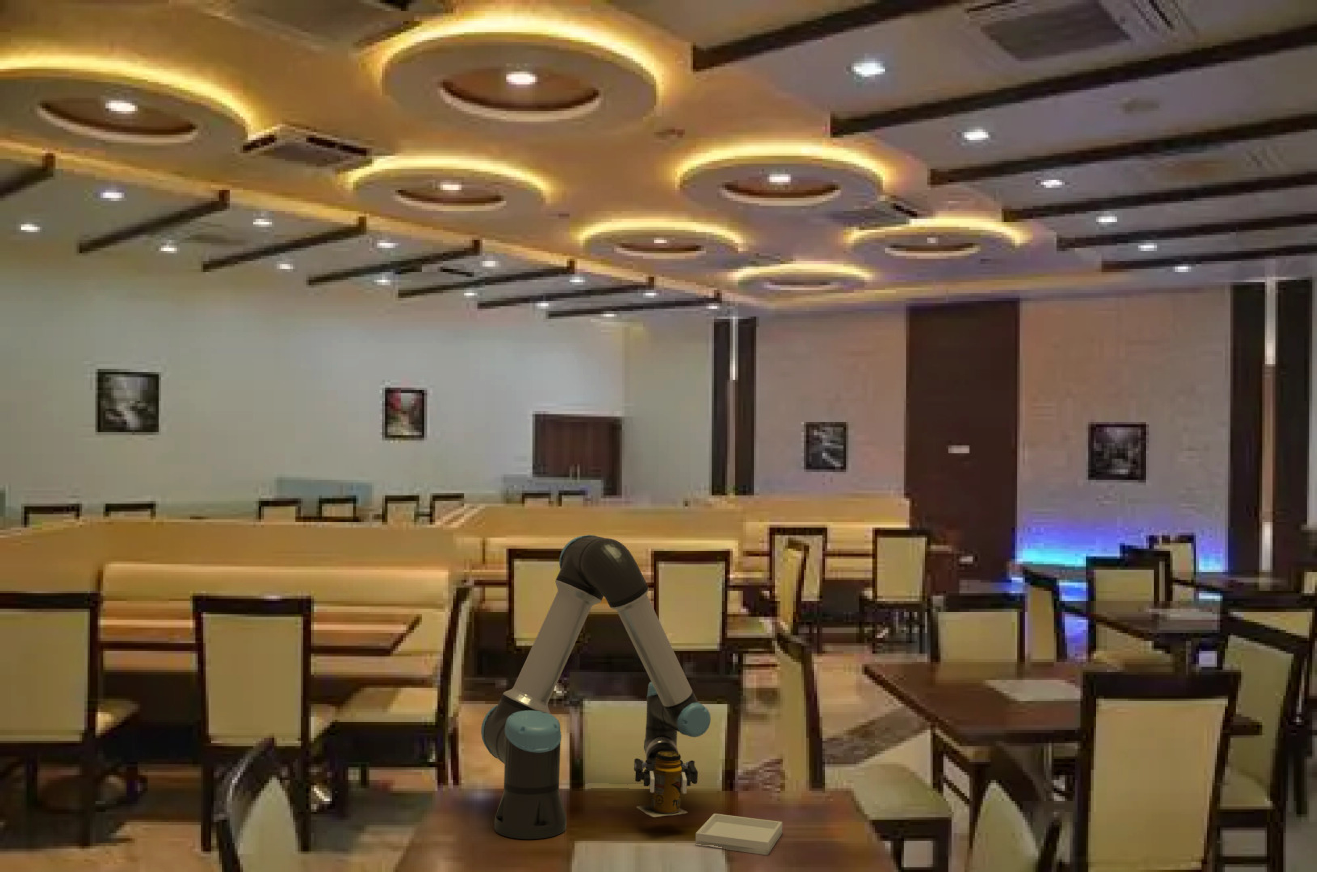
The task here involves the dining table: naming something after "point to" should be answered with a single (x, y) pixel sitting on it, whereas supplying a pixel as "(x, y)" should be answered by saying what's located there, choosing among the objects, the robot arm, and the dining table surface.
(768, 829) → the tray
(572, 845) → the dining table surface
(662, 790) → the condiment
